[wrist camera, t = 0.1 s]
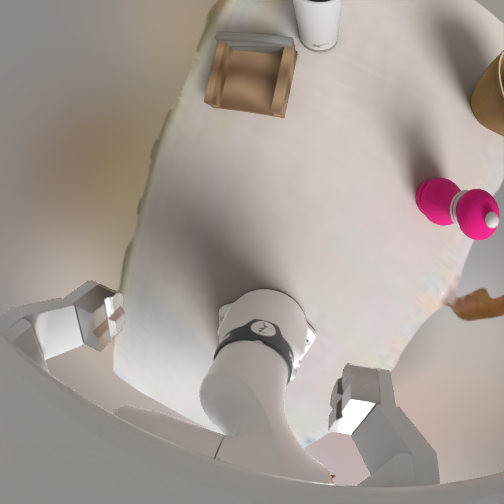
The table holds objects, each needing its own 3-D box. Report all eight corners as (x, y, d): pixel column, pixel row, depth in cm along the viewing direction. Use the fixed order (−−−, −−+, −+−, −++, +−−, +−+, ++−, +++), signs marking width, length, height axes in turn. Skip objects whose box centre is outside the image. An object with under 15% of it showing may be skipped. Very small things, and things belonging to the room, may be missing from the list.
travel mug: (322, 60, 38) (323, -2, 19) (291, 38, 37) (274, -29, 19) (346, 39, 35) (358, -27, 17) (315, 17, 35) (309, -53, 16)
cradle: (284, 118, 42) (279, 110, 36) (214, 107, 44) (198, 100, 37) (297, 53, 38) (294, 37, 32) (228, 46, 40) (215, 31, 33)
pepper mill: (405, 203, 41) (460, 230, 23) (426, 168, 39) (490, 173, 20) (435, 227, 41) (496, 266, 22) (455, 193, 39) (525, 213, 20)
